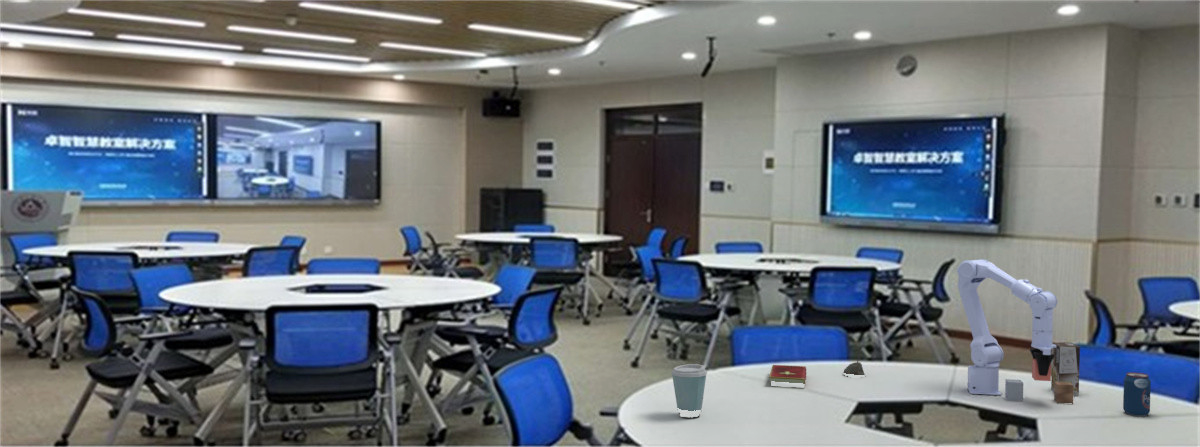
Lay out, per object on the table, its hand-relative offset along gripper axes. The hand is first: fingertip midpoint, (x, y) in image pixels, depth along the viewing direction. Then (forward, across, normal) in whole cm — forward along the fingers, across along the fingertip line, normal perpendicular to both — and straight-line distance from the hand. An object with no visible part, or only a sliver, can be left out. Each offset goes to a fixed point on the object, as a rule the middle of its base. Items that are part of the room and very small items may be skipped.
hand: (1041, 373), depth 286 cm
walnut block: (+10, +4, -8) cm, 13 cm away
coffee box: (+10, +18, -11) cm, 24 cm away
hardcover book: (+11, +14, +78) cm, 80 cm away
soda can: (+10, -6, -25) cm, 28 cm away
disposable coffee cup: (+10, -41, +105) cm, 113 cm away
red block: (+2, 0, 0) cm, 2 cm away
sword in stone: (+10, +29, +56) cm, 64 cm away
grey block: (+10, +4, +7) cm, 13 cm away
